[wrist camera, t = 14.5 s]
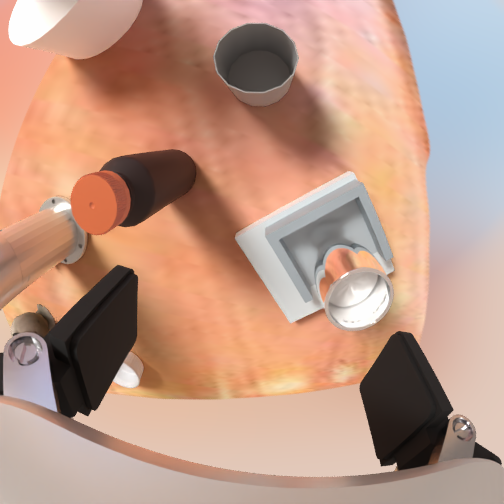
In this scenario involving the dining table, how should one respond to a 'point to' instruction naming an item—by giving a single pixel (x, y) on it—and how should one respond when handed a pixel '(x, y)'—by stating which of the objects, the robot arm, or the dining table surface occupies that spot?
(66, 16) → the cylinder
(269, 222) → the dock
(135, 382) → the ramekin
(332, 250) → the beer glass
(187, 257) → the dining table surface
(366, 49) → the dining table surface
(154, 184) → the bottle
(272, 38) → the cup
